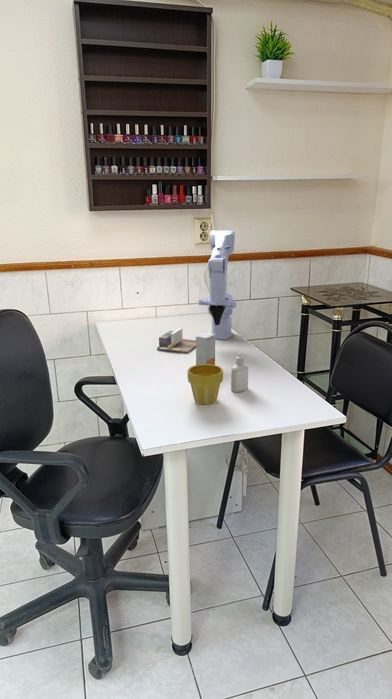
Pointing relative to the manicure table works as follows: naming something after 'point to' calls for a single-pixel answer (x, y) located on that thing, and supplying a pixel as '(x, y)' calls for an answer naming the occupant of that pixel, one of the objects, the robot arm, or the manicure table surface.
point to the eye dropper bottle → (239, 375)
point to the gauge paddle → (176, 337)
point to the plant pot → (205, 382)
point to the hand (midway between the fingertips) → (217, 324)
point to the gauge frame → (180, 347)
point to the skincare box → (205, 349)
